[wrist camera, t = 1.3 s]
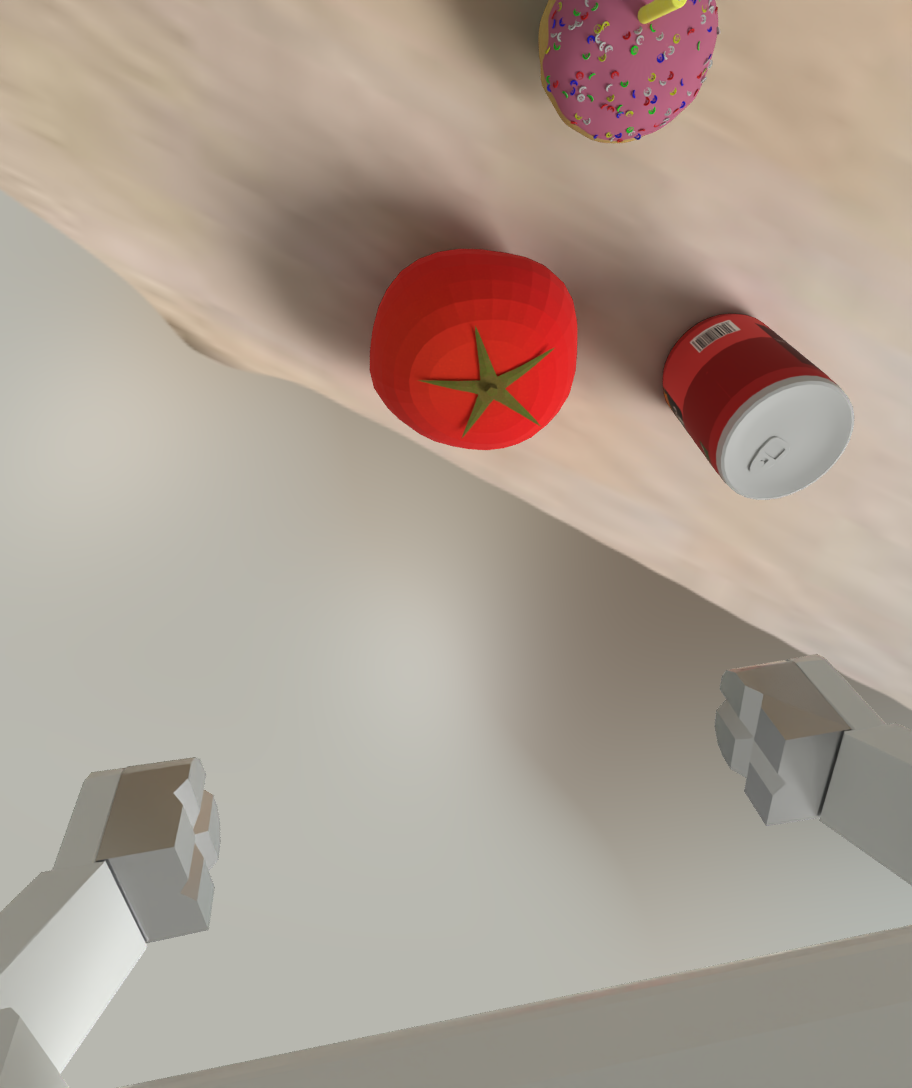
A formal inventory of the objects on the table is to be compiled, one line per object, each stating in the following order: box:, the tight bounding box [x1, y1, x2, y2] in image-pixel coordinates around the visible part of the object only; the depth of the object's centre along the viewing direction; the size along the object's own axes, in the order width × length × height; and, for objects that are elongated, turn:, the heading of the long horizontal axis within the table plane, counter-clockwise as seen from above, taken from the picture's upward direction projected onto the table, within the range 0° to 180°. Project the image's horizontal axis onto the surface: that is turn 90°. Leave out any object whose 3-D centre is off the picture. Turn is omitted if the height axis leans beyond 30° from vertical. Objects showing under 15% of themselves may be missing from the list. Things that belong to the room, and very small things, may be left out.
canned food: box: [663, 314, 854, 500], centre depth 47 cm, size 8×8×11 cm
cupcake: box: [538, 0, 720, 143], centre depth 34 cm, size 9×8×12 cm
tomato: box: [370, 249, 577, 450], centre depth 43 cm, size 11×12×10 cm
